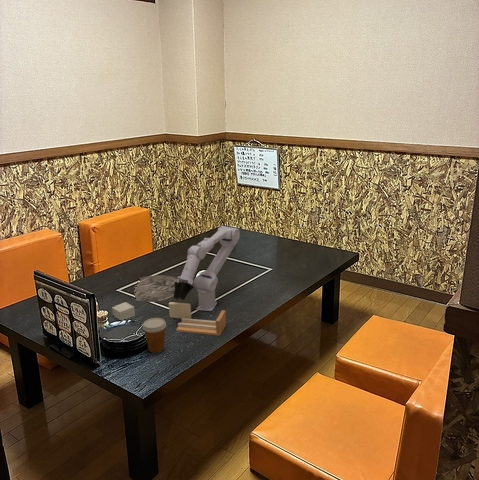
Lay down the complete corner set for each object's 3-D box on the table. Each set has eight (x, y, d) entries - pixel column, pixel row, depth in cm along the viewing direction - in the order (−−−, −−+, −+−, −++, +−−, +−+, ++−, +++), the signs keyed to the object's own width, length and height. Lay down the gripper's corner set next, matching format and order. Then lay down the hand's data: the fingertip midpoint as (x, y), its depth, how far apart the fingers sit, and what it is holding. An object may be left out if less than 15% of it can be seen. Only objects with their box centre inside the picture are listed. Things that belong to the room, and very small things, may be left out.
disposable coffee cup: (151, 341, 200) (148, 316, 196) (171, 344, 197) (169, 318, 193) (140, 353, 191) (137, 326, 187) (162, 356, 188) (159, 329, 185)
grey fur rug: (151, 271, 276) (151, 270, 276) (197, 284, 256) (197, 283, 256) (106, 291, 250) (106, 291, 250) (153, 307, 231) (153, 306, 231)
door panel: (171, 315, 222) (170, 302, 220) (191, 317, 219) (190, 303, 217) (169, 317, 220) (168, 303, 218) (189, 319, 218) (188, 305, 215)
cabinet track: (184, 320, 216) (183, 306, 214) (226, 324, 212) (225, 310, 209) (176, 331, 207) (175, 317, 205) (219, 335, 202) (219, 321, 200)
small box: (135, 316, 222) (134, 306, 221) (120, 322, 217) (119, 312, 216) (127, 311, 228) (126, 301, 226) (112, 316, 223) (111, 306, 221)
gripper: (176, 267, 218) (165, 294, 215) (187, 267, 205) (175, 296, 202) (189, 273, 221) (179, 300, 218) (201, 273, 208) (190, 301, 205)
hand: (178, 298), depth 210 cm, fingers open, 7 cm apart
